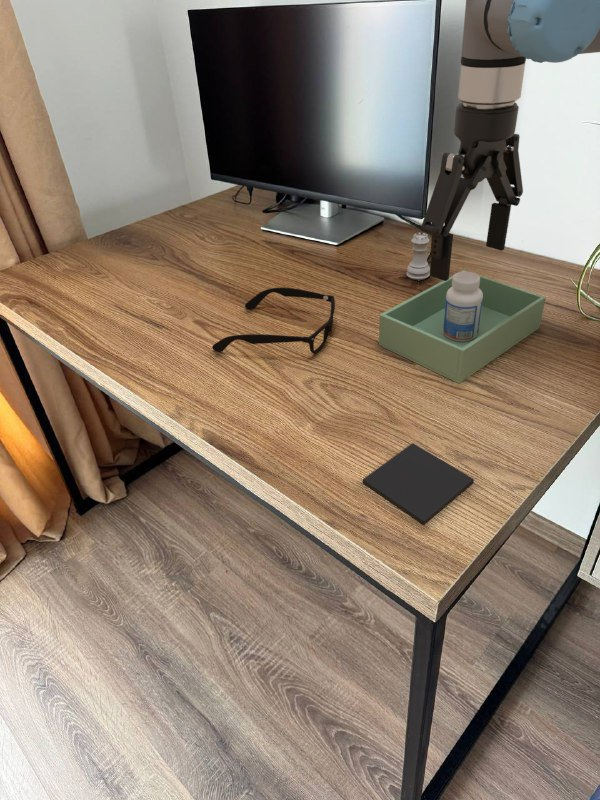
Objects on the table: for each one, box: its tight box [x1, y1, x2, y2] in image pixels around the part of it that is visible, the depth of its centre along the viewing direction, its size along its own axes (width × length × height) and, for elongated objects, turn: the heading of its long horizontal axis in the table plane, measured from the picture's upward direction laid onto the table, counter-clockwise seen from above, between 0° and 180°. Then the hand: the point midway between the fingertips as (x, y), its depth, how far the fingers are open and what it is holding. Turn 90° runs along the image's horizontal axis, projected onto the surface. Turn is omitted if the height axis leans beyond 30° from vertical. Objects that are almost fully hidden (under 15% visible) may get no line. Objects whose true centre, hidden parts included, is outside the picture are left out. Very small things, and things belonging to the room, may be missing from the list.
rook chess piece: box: [405, 232, 431, 281], centre depth 109 cm, size 4×4×8 cm
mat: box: [362, 443, 475, 526], centre depth 68 cm, size 9×9×1 cm
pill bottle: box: [443, 271, 483, 342], centre depth 90 cm, size 6×5×10 cm
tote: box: [378, 269, 547, 384], centre depth 91 cm, size 15×21×6 cm
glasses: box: [211, 287, 336, 355], centre depth 96 cm, size 17×18×5 cm
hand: (468, 262), depth 86 cm, fingers open, 13 cm apart
